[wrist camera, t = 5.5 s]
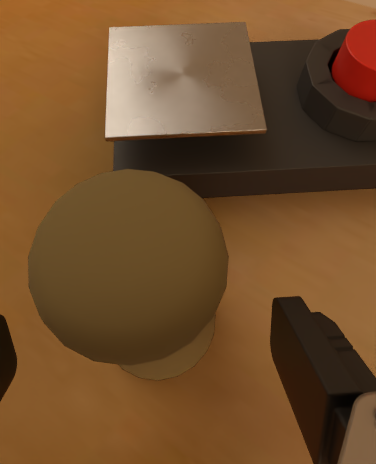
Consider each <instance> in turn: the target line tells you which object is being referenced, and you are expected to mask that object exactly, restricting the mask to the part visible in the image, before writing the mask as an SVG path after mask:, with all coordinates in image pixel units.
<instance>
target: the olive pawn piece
mask: <svg viewBox="0 0 376 464" xmlns="http://www.w3.org/2000/svg"><path fill="white" fill-rule="evenodd" d="M228 258H229V256H228V253H227V249H226V245H225V241H224V237H223V233H222V230H221V227H220V224H219V222H218V221H217V219H216V217H215V216H214V214H213V213H212V211H211V210H210V208H209V207H208V205H207V204H206V202H205V201H204V199H202V198H201V197H200V196H199V195H197V194H196V193H195V192H194V191H192V190H191V189H190V188H189V187H187V186H186V185H185V184H184V183H182V182H179V181H177V180H174V179H172V178H169V177H167V176H164V175H162V174H159V173H156V172H152V171H143V170H133V169H124V170H118V171H112V172H106V173H101V174H98V175H96V176H94V177H92V178H89V179H87V180H85V181H83V182H81V183H78V184H76V185H75V186H74V187H73V188H72V189H70V190H69V191H68V192H67V193H65V194H64V195H63V196H62V197H60V198H59V199H58V200H57V201H56V202H55V203H54V205H53V206H52V207H51V209H50V210H49V212H48V213H47V215H46V216H45V217H44V219H43V220H42V222H41V223H40V225H39V227H38V229H37V232H36V235H35V238H34V241H33V244H32V247H31V250H30V253H29V256H28V272H29V289H30V292H31V294H32V297H33V299H34V302H35V305H36V307H37V310H38V313H39V315H40V317H41V319H42V320H43V322H44V323H45V324H46V326H47V327H48V328H49V329H50V330H51V331H52V332H53V333H54V335H55V336H56V337H57V338H58V339H59V340H60V341H61V342H62V343H63V345H64V346H66V347H68V348H70V349H71V350H73V351H75V352H77V353H79V354H81V355H83V356H85V357H87V358H89V359H91V360H93V361H97V362H104V363H112V364H118V365H119V366H120V367H121V368H122V369H123V370H125V371H127V372H129V373H131V374H133V375H135V376H137V377H139V378H144V379H152V380H163V379H167V378H172V377H176V376H179V375H180V374H182V373H184V372H185V371H187V370H189V369H190V368H192V367H194V366H195V365H196V363H197V362H198V361H199V360H200V359H201V358H202V356H203V355H204V354H205V353H206V352H207V350H208V347H209V345H210V342H211V340H212V337H213V335H214V328H215V316H216V315H215V312H216V310H217V307H218V305H219V303H220V300H221V298H222V296H223V293H224V291H225V289H226V285H227V271H228Z"/></svg>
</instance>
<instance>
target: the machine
mask: <svg viewBox="0 0 376 464" xmlns="http://www.w3.org/2000/svg"><path fill="white" fill-rule="evenodd" d="M349 30H350V29H340V30H337V31H335V32H333V33H331V34H329V35H327V36H325V37H324V38H322V39H319V40H295V41H271V42H250V47H251V52H252V57H253V62H254V67H255V72H256V77H257V82H258V87H259V92H260V97H261V103H262V108H263V113H264V118H265V123H266V128H267V131H266V133H263V134H243V135H223V136H203V137H183V138H163V139H143V140H123V141H114V165H113V171H118V170H124V169H133V170H143V171H152V172H156V173H159V174H162V175H164V176H167V177H169V178H172V179H174V180H177V181H179V182H182V183H184V184H185V185H186V186H187V187H189V188H190V189H191V190H192V191H194V192H195V193H196V194H197V195H199V196H200V197H201V198H208V197H226V196H244V195H262V194H280V193H298V192H316V191H334V190H352V189H370V188H376V102H368V101H365V100H362V99H359V98H356V97H353V96H351V95H349V94H347V93H346V92H345V91H344V90H343V89H342V88H341V87H340V86H338V85H337V84H336V83H335V82H334V80H333V77H332V65H333V63H334V61H335V58H336V56H337V54H338V52H339V50H340V48H341V46H342V44H343V41H344V39H345V37H346V35H347V33H348V31H349Z"/></svg>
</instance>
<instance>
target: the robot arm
mask: <svg viewBox="0 0 376 464" xmlns="http://www.w3.org/2000/svg"><path fill="white" fill-rule="evenodd" d="M270 346H271V353H272V357H273V361H274V363H275V366H276V369H277V371H278V374H279V376H280V379H281V381H282V384H283V386H284V389H285V392H286V394H287V397H288V399H289V402H290V404H291V407H292V409H293V412H294V415H295V417H296V420H297V422H298V425H299V427H300V430H301V432H302V435H303V437H304V440H305V443H306V445H307V448H308V450H309V453H310V455H311V458H312V460H313V463H314V464H376V378H375V376H374V375H373V374H372V372H371V371H370V370H369V368H368V367H367V365H366V364H365V363H364V361H363V360H362V359H361V357H360V356H359V355H358V353H357V352H356V351H355V349H353V346H352V345H351V344H350V342H349V341H348V340H347V338H345V337H344V334H343V333H342V331H341V330H340V329H339V327H338V326H337V325H336V323H335V322H333V321H332V320H331V319H329V318H328V317H326V316H325V315H323V314H322V313H321V312H312V313H311V312H310V310H309V309H308V307H307V306H306V304H305V303H304V301H303V299H302V298H301V297H300V296H294V297H279V298H274V299H273V303H272V318H271V335H270ZM16 368H17V356H16V352H15V349H14V346H13V342H12V339H11V335H10V332H9V329H8V325H7V322H6V319H5V318H4V316H2V315H0V401H1V399H2V398H3V396H4V394H5V392H6V391H7V389H8V387H9V385H10V384H11V382H12V380H13V378H14V376H15V373H16Z"/></svg>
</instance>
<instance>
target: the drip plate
mask: <svg viewBox="0 0 376 464" xmlns="http://www.w3.org/2000/svg"><path fill="white" fill-rule="evenodd" d="M266 131H267V128H266V123H265V118H264V113H263V108H262V103H261V97H260V92H259V87H258V82H257V77H256V72H255V67H254V62H253V57H252V52H251V47H250V42H249V37H248V32H247V27H246V22H231V23H206V24H181V25H156V26H131V27H109V48H108V73H107V98H106V123H105V139H106V141H123V140H143V139H163V138H183V137H203V136H223V135H243V134H263V133H266Z"/></svg>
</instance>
